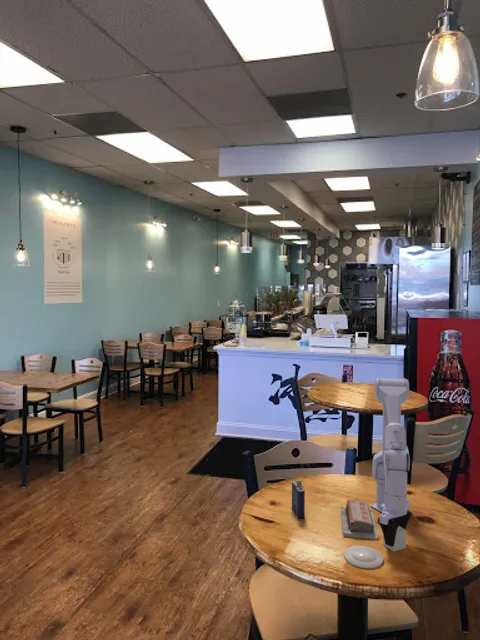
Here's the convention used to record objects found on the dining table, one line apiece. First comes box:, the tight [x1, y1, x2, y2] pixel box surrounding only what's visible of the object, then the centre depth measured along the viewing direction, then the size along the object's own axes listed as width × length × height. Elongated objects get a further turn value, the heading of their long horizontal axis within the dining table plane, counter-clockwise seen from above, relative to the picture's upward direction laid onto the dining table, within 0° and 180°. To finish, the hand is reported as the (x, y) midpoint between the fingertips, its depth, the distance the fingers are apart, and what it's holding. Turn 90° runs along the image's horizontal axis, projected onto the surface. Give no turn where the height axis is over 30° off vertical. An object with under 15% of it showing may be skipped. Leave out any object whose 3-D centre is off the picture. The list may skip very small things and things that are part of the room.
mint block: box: [382, 526, 407, 552], centre depth 134 cm, size 4×4×5 cm
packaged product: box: [340, 499, 379, 541], centre depth 148 cm, size 18×5×10 cm
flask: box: [291, 479, 306, 521], centre depth 155 cm, size 9×3×11 cm, turn 8°
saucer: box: [343, 545, 384, 570], centre depth 128 cm, size 10×10×1 cm
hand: (394, 541), depth 135 cm, fingers closed on mint block, 5 cm apart
